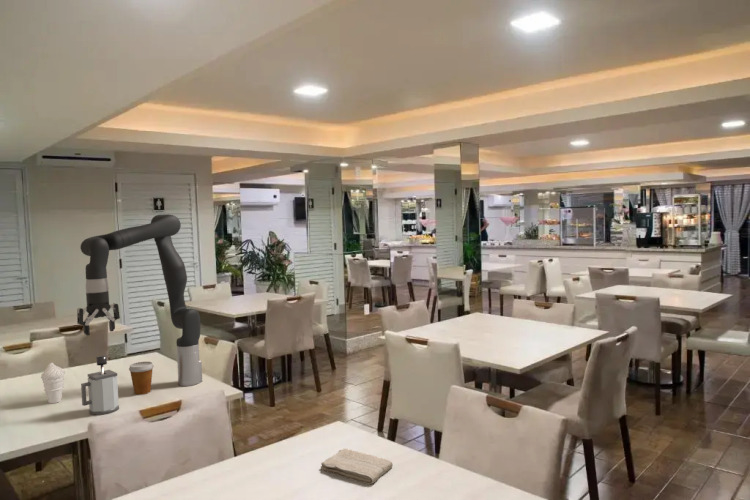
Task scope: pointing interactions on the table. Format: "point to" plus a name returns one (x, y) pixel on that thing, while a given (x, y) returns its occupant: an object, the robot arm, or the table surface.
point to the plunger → (101, 362)
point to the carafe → (101, 393)
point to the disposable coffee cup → (141, 377)
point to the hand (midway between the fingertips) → (99, 333)
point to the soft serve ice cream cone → (53, 382)
